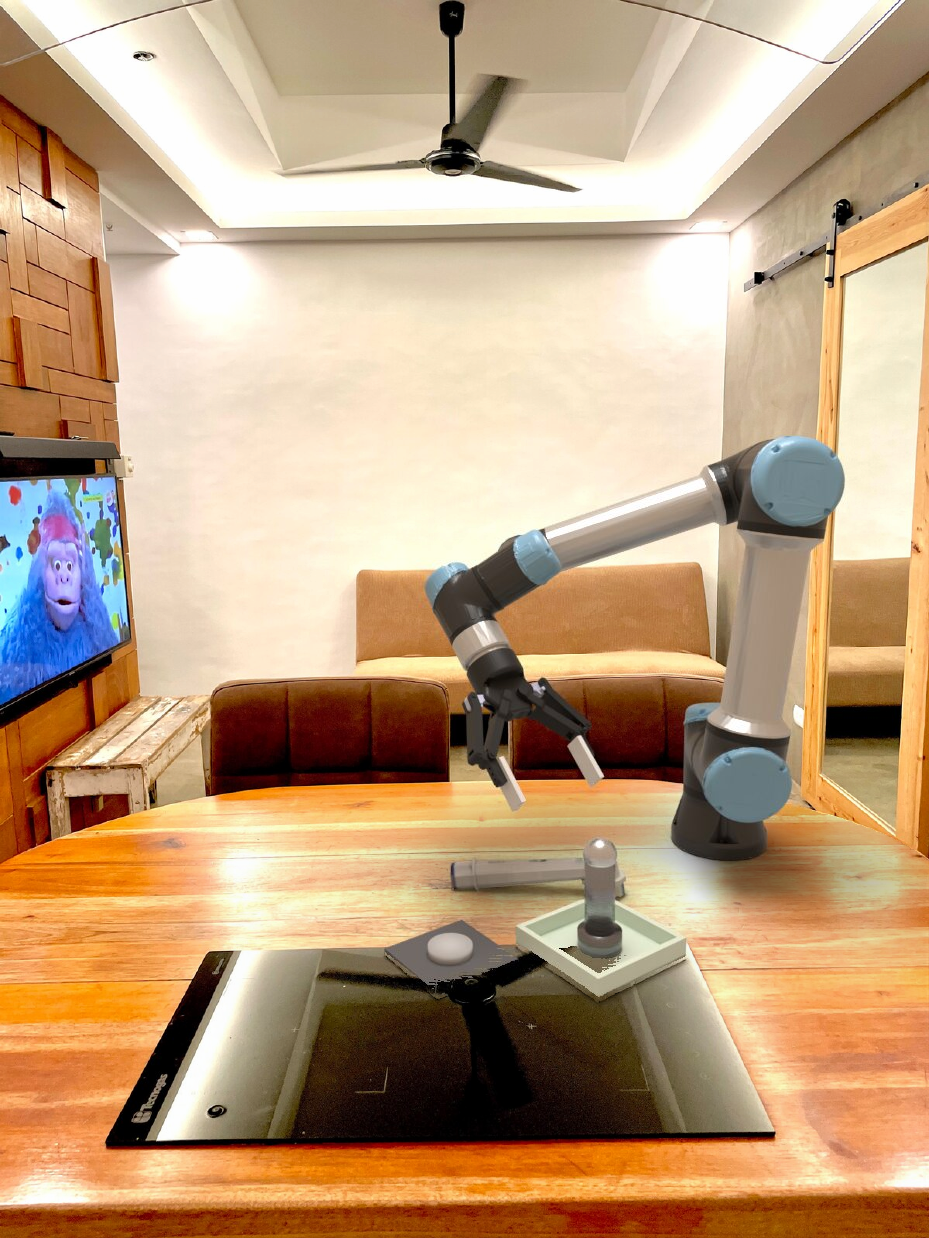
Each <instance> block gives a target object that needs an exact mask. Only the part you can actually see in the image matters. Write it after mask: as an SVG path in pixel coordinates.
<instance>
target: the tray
mask: <svg viewBox="0 0 929 1238" xmlns="http://www.w3.org/2000/svg"><path fill="white" fill-rule="evenodd" d="M583 921H584V898H583V899H580V900H578V901H575V902H573V903H570V904H567V905H565V906H562V907H560V908H557V909H554V910H552V911H550V912H547V913H545V914H542V915H539V916H537V917H535V918H532V919H529V920H527V921H524V922H522V923H519V924H517V925H515V945H516V944H518V945H520V946H522V947H524V948H527V949H528V950H529V951H532V952H533V953H534V954H536V955H538V956H539V957H540V958H542V959H544V960H545V961H547V962H548V963H549V964H551V965H553V966H555V967H556V968H558V969H559V970H561V972H564V973H565V974H566V975H568V976H570V977H571V978H572V979H574V980H575V981H576V982H578V983H579V984H581V985H583V986H585V988H587V989H588V990H589V991H590V992H592V993H594V994H595V995H596V996H598V997H600V996H603V995H604V994H606V993H607V992H610V991H612V990H613V989H616V988H619V987H621V986H623V985H626V984H628V983H630V982H633V981H634V980H636V979H639V978H640V977H642V976H643V975H647V974H648V973H650V972H654V971H655V970H657V969H659V968H662V967H663V966H666V965H669V964H671V963H672V962H674V961H677V960H679V959H681V958H683V957H685V956H686V957H687V937H686V936H684V935H682V934H681V933H678V932H677V931H675V930H673V929H671V928H669V927H667V926H665V925H663V924H661V923H660V922H658V921H656V920H654V919H652V918H650V917H648V916H646V915H645V914H643V913H641V912H639V911H637V910H635V909H633V908H632V907H630V906H628V905H626V904H624V903H621V902H620V901H618V900H616V899H615V923H617V924H618V925H619V926H620V927H621V928H622V952H621V953H620V954H619V955H621V956H619V958H621V959H619V960H617V957H618V956H617V957H613V958H616V959H615V960H614V961H616V963H613V964H608V965H616V966H613V967H608V968H609V969H607V970H605V969H604V970H605V971H604V970H602V972H601V973H597V972H595V971H594V970H592V969H591V968H589V967H588V966H586V965H584V964H583V963H581V962H580V961H578V960H577V959H575V958H574V957H572V956H570V955H569V954H567V953H566V952H564V951H563V950H561V949H559V948H568V947H570V946H577V927H578V925H579V924H580V923H581V922H583ZM624 955H626V956H624ZM609 961H610V960H609ZM617 961H619V962H617ZM602 968H607V967H602Z"/></svg>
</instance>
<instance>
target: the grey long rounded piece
mask: <svg viewBox="0 0 929 1238" xmlns="http://www.w3.org/2000/svg"><path fill="white" fill-rule="evenodd" d="M579 880H580V881H581V885H583V886H584V859H583V857H555V858H519V859H518V858H517V859H516V858H515V859H513V858H512V859H484V860H483V859H481V860H480V859H479V860H478V859H477V857H474V858H473V859H472V860H466V861H454V862H451V864H450V881H451V888H452V889H453V890H463V891H464V890H476V892H477V891H479V892H480V889H488V888H489V889H490V888H503V887H512V886H522V885H533V884H545V883H555V882H568V881H579ZM625 882H627V875H626V871H624V870H622V869H621V868H619V865H618V861H617V859H616V862H615V898H616V897H618V898H621V897H623V896H624V895H625V892H626V891H625Z"/></svg>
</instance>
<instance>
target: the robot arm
mask: <svg viewBox="0 0 929 1238" xmlns="http://www.w3.org/2000/svg"><path fill="white" fill-rule="evenodd" d="M845 482H846V477H845V471H844V468H843V465H842V461H841V459H840V458H839V457H838V455H837V454H836V453H835V451H834V450H832V449H831V447H829V446H828V445H827V444H825V443H824V442H823V441H820V440H818V439H816V438H812V437H806V436H801V435H784V436H780V437H778V438H777V437H776V438H772V439H766V440H762V441H759V442H757V443H754V444H753V445H750V446H748V447H747V448H744V449H742V450H741V451H738V452H736V453H734V454H733V455H731V456H728V457H726V458H724V459H722V460H721V459H720V460H719V461H716V462H714V463H711V464H708V465H705V466H703V467H702V470H701V471H700V473H699V474H698V475H696V476H693V477H690V478H687V479H684V480H682V481H678V482H674V483H673V484H669V485H666V486H663V487H660V488H658V489H655V490H651V491H648V492H646V493H643V494H639V495H636V496H634V497H631V498H628V499H625V500H621V501H619V502H616V503H613V504H610V505H607V506H604V507H600V508H598V509H595V510H592V511H589V512H586V513H584V514H580V515H577V516H574V517H572V518H569V519H566V520H563V521H559V522H556V523H554V524H553V523H552V524H551V525H548V526H545V527H544V528H541V529H531V530H529V531H528V532H527V533H525V534H516V535H513V536H511V537H508V538H507V539H505V540H504V541H503V542H501V544H500V546H499V547H498V550H497V551H496V552H495V553H493V554H491V555H490V556H489V557H487V558H486V559H484V560H483V561H481V562H479V563H478V564H475V565H474V566H472V567H471V568H469V567H468V566H467V565H466V563H463V562H457V561H455V562H450V563H448V564H447V565H442V566H440V567H438V568H436V569H435V570H434V571H433V572H432V573H431V574H430V575H429V576H428V577H427V579H426V581H425V584H424V592H425V594H426V595H425V596H426V597H427V600H428V602H429V604H430V606H431V609H432V610H431V611H432V613H433V615H434V616H435V617H436V620H437V621H438V623H439V625H440V626H441V628H442V630H443V632H444V634H445V636H446V638H447V639H448V642H449V644H450V645H451V648H452V650H453V652H454V654H455V656H456V658H457V660H458V661H459V663H460V665H461V667H462V669H463V671H465V672H466V678H467V679H468V681H469V683H470V685H471V687H472V689H473V691H471V692H469V693H468V694H467V696H466V698H464V700H463V701H462V702H461V706H462V709H463V711H464V713H465V716H466V755H467V756H466V758H467V759H466V760H467V764H468V765H470V766H472V767H474V766H475V765H477V766H478V768H479V769H481V771H485V770H486V771H487V774H488V776H489V778H490V779H491V782H492V783H493V785H494V786H495V788H500V790H501V792H502V795H503V796H504V798H505V800H506V802H507V804H508V806H509V809H510V810H511V812H517V811H518V810H519V809H520V808H521V807H522V806H523V805H524V804H525V803H526V802H527V799H526V798H525V796H524V793H523V792H522V789H521V788H520V785H519V784H518V783H519V782H518V781H517V780H516V778H515V775H514V773H513V772H512V769H511V767H510V766H509V764H508V762H507V760H506V758H505V756H504V755H503V756H499V757H498V758H497V756H498V753H499V748H500V744H501V739H502V735H503V729H504V725H505V722H506V723H508V722H512V721H513V720H521V719H524V718H525V717H526V718H527V719H529V720H535V721H536V722H538V723H539V724H542V725H543V726H545V727H546V728H548V729H549V730H551V731H553V732H554V733H556V734H557V735H559V736H561V737H562V738H564V739H565V740H567V741H568V742H569V743H568V745H567V748H568V750H569V752H570V753H571V755H572V757H573V759H574V760H575V763H576V765H577V766H578V768H579V769H580V772H581V774H582V775H583V777H584V779H585V781H586V782H587V784H588V787H590V788H591V787H595V785H597V784H598V783H599V782H600V781H602V779H603V778H604V777H605V776H604V773H603V772H602V769H601V768H600V766H599V765H598V763H597V761H596V759H595V758H594V757H595V752H594V750H593V749H592V746H591V745H590V743H589V741H588V739H587V738H586V734H587V732H588V731H589V730H590V729H591V728H593V727H592V722H590V721H589V719H587V718H586V717H585V716H584V715H583V714H582V713H581V712H580V711H578V710H577V709H576V708H575V707H574V706H573V705H572V704H571V703H569V701H567V700H566V699H565V698H564V697H562V696H561V695H560V694H559V693H558V692H557V691H556V690H555V689H554V688H553V687H552V685H551V683H549V681H548V679H547V678H546V677H542V676H541V677H540V678H539V679H538V680H537V681H536V682H533V683H530V682H529V681H527V679H526V677H525V674H524V673H525V672H524V667H523V665H522V663H521V661H520V659H519V658H518V655H517V654H516V653H515V650H513V649H512V648H511V647H512V644H511V643H510V641H509V639H508V637H507V635H506V634H505V632H504V631H503V629H502V627H501V625H500V624H499V621H498V620H497V618H496V614H497V613H499V612H501V611H503V610H504V609H505V608H507V607H509V606H510V605H511V604H513V603H515V602H516V601H519V599H521V598H523V597H525V596H526V595H528V594H530V593H531V592H534V591H535V590H536V589H538V588H539V587H542V586H545V585H546V584H547V583H548V582H549V581H550V580H551V579H553V578H554V577H556V576H558V575H559V574H560V573H561V572H565V571H567V570H571V569H574V568H577V567H580V566H583V565H587V564H589V563H590V564H591V563H593V562H597V561H599V560H601V559H602V560H603V559H605V558H608V557H611V556H614V555H617V554H620V553H624V552H627V551H630V550H632V549H635V548H639V547H642V546H646V545H647V544H651V543H654V542H655V543H656V542H657V541H661V540H663V539H666V538H669V537H672V536H673V537H674V536H676V535H679V534H682V533H686V532H688V531H692V530H694V529H697V528H700V527H704V526H706V525H709V524H712V523H715V524H717V525H719V526H722V527H724V526H725V527H726V526H727V525H731V524H734V523H737V525H736V532H737V533H738V535H739V536H740V537H741V539H742V540H743V542H744V545H745V547H744V553H743V560H742V565H741V572H740V577H739V585H738V591H737V597H736V601H735V602H736V604H735V609H734V616H733V623H732V629H731V634H730V635H731V636H730V640H729V641H730V642H729V648H728V654H727V661H726V667H725V674H724V680H723V686H722V693H721V698H720V702H701V703H695V704H691V705H689V706H688V707H687V708H686V710H685V714H684V715H685V716H684V721H683V726H684V738H683V739H684V741H683V743H684V744H683V775H682V776H683V778H682V779H683V783H682V785H683V787H682V788H683V789H682V794H681V796H680V800H679V803H678V805H677V808H676V811H675V814H674V816H673V819H672V821H671V825H670V826H671V827H670V839H671V842H672V843H673V844H674V845H675V846H676V847H678V848H679V849H681V850H682V851H685V852H687V853H689V854H692V855H695V856H698V857H702V858H708V859H713V860H720V861H739V860H740V861H741V860H747V859H752V858H755V857H758V856H759V855H761V854H763V853H764V852H765V851H766V850H767V848H768V831H767V829H766V825H765V823H764V820H768V819H769V818H771V817H773V816H774V815H775V814H778V813H779V812H780V811H782V809H783V808H784V807H785V805H786V804H787V803H788V800H789V799H790V796H791V793H792V788H793V780H792V775H791V769H790V768H789V766H788V764H787V757H788V751H789V745H790V738H791V734H792V731H791V728H790V727H789V725H788V724H787V723H786V722H785V720H784V719H783V713H784V707H785V701H786V695H787V691H788V684H789V676H790V673H791V671H790V670H791V667H792V666H791V665H792V659H793V655H794V648H795V642H796V635H797V631H798V626H799V625H798V624H799V619H800V612H801V607H802V601H803V596H804V590H805V584H806V579H807V571H808V566H809V560H810V555H811V552H812V550H813V549H815V548H816V547H818V546H819V545H820V544H822V543H823V542H825V536H826V532H827V526H828V525H827V524H828V521H829V516H830V515H831V514H832V513H833V512H834V510H836V508H837V507H838V505H839V503H840V502H841V500H842V498H843V494H844V491H845V485H846V483H845ZM533 706H534V707H533ZM483 708H485V709H486V710H488V711H489V712H490V715H489V719H488V724H487V725H488V728H487V733H486V737H485V742H484V725H483V724H484V722H483V721H484V720H483Z"/></svg>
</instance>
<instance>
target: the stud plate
mask: <svg viewBox="0 0 929 1238" xmlns="http://www.w3.org/2000/svg"><path fill="white" fill-rule="evenodd" d="M497 948H503V947H502V946H501V945H500V944H498V943H496V942H495V941H493V940H492V939H491V938H489V937H487V936H486V935H485V934H484V933H482V932H481V931H480V930H478V929H476V928H475V927H473V926H472V925H470V924H469V923H467V922H466V921H465V920H463V919H460V920H457V921H455V922H451V923H449V924H446V925H443V926H441V927H438V928H435V929H433V930H430V931H427V932H425V933H422V934H419V935H417V936H414V937H412V938H408V939H406V940H403V941H401V942H397V943H395V944H393V945H390V946H387V947H384V953H385V952H386V953H387V955H390V956H391V957H392V958H394V960H396V961H398V962H399V963H400V964H401V965H403V966H404V967H405V968H407V969H408V970H409V971H410V972H412V973H413V974H414V975H416V976H417V977H418V978H419V979H421V980H422V981H423V982H425V983H426V984H427V985H438V984H435V983H429V982H441V981H444V982H450V981H447V980H445V979H454V980H455V979H462V978H461V977H459V976H458V975H481V974H482V973H476V974H475V973H473V972H484V973H485V972H488V971H490V970H487V969H485V970H478V969H474V968H498V967H500V966H502V965H505V964H507V963H510V962H511V961H515V960H518V961H519V958H518V957H517V956H515V955H514V956H513V957H510V956H504V955H510V954H511V955H513V954H512V953H510V952H509V951H508V952H506V951H507V949H505V950H502V949H497ZM493 955H494V956H493ZM496 955H503V956H496ZM489 958H502V959H489ZM489 961H501V962H489ZM490 965H491V966H490ZM492 970H493V969H492ZM448 972H451V973H448ZM459 972H469V973H459ZM451 975H457V976H451ZM462 977H468V978H473V977H472V976H462ZM434 979H437V980H434ZM438 980H440V981H438ZM434 987H435V986H434ZM432 989H434V988H432Z"/></svg>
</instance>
